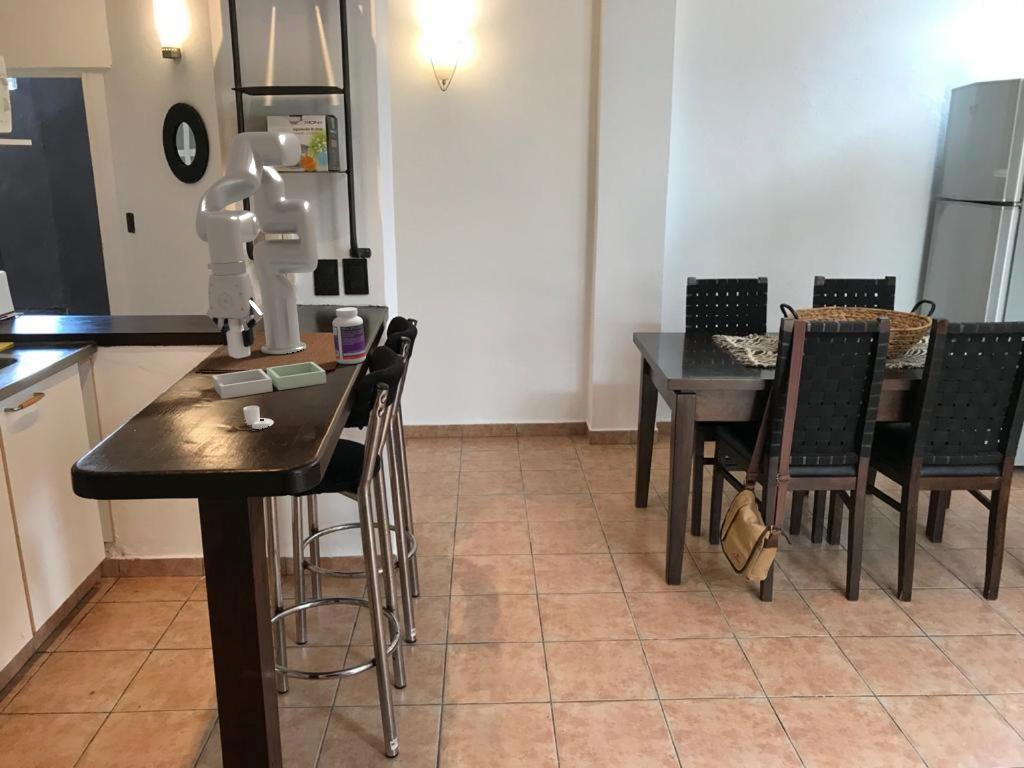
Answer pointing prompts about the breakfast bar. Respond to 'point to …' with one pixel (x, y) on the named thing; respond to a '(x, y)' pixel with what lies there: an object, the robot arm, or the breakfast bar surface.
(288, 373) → the green bin
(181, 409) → the breakfast bar surface
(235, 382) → the grey bin
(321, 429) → the breakfast bar surface
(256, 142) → the robot arm
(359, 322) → the pill bottle
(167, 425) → the breakfast bar surface
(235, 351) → the pepper shaker
